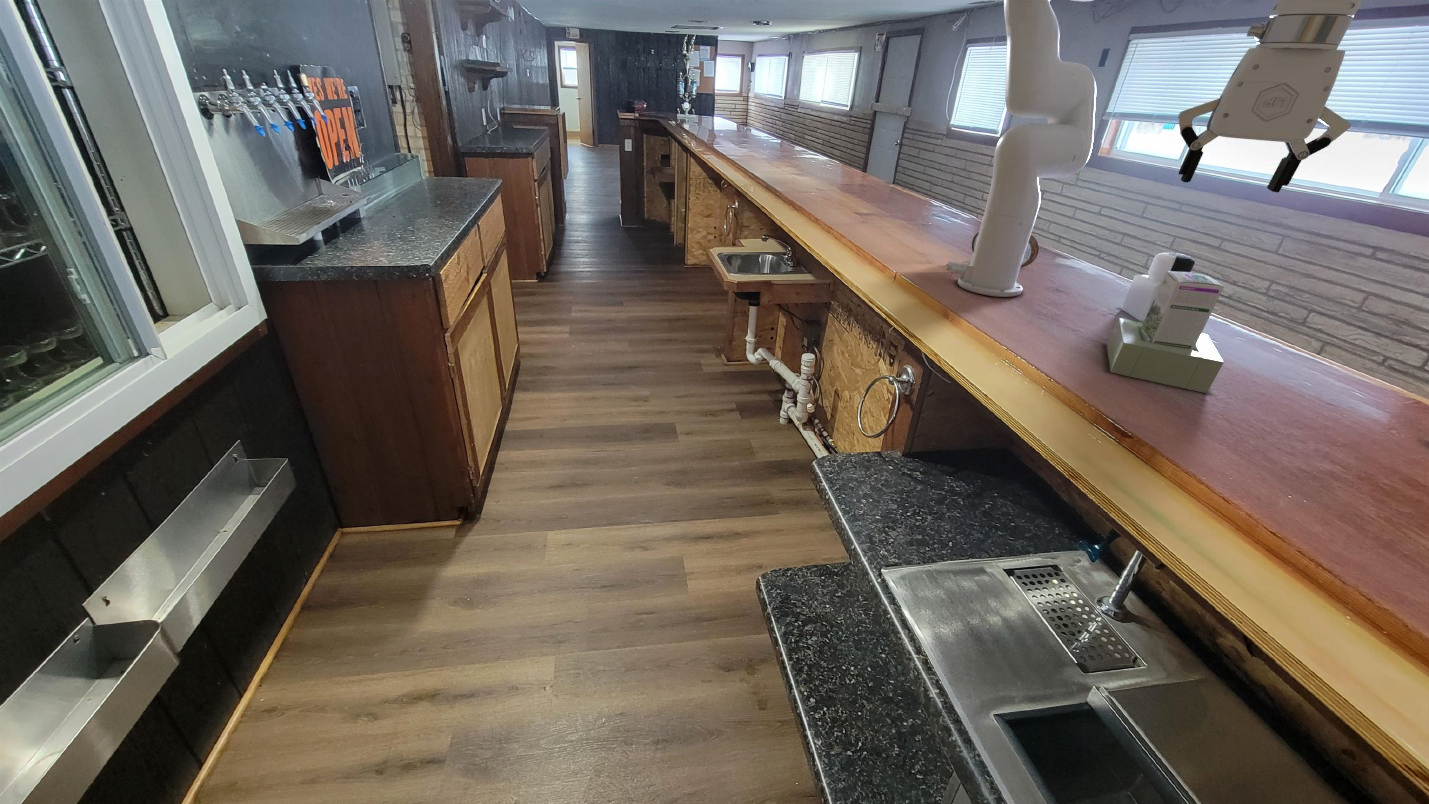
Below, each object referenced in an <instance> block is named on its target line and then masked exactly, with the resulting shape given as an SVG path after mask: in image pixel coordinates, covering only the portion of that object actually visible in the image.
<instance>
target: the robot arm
mask: <svg viewBox="0 0 1429 804" xmlns="http://www.w3.org/2000/svg"><path fill="white" fill-rule="evenodd" d="M1050 1H1051V0H1003V16H1004V23H1005V32H1006V57H1005V58H1006V61H1005V62H1006V63H1005V88H1004V89H1005V92H1004V93H1005V94H1004V95H1005V96H1004V97H1005V108H1006V110H1007V112H1008V113H1009V114H1010V115H1012V116H1014V117H1017V118H1023V119H1024V118H1025V119H1042V120H1043V119H1044V120H1047V123H1046V122H1045V123H1041V122H1029V123H1021V124H1017V125H1015V126H1013V127H1010V128H1008V129H1007V131H1005V132H1004V133H1003V134H1002V135H1001V137H1000V138H999V139H998V142H997V143H996V145H995V149H994V154H993V165H992V176H991V177H992V178H991V182H990V189H989V193H988V196H987V201H986V204H985V208H984V211H983V212H984V213H983V215H982V220H981V223H980V227H979V231H978V232H979V234H978V238H977V242H976V245H975V249H974V253H973V252H972V257H971V259H970V260H969V261H968V262H964V263H958V262H955V261H951V260H950V261H948V263H947V266H946V271H949V272H950V273H952V274H958V275H959V277H958V279H957V285H959V287H961V288H962V289H965V290H966V291H969V292H972V293H975V294H978V295H984V296H990V297H1000V298H1009V297H1010V298H1011V297H1012V298H1013V297H1015V296H1019V295H1020V294H1021V293H1022V291H1023V287H1022V284H1020V283H1018V282H1017V280H1018V277H1019V273H1020V270H1021V268H1020V267H1021V264H1022V261H1023V258H1024V254H1025V251H1026V248H1027V245H1028V242H1029V239H1030V235H1032V232H1033V229H1034V226H1035V224H1036V223H1035V222H1036V219H1037V215H1038V212H1039V211H1040V210H1039V209H1040V206H1041V190H1040V185H1039V184H1040V183H1039V179H1064V178H1069V177H1072V176H1074V175H1076V174H1077V173H1079V172H1080V171H1081V170H1082V169H1084V167H1085V166H1086V164H1087V163H1088V161H1089V159H1090V156H1091V153H1092V149H1093V143H1094V130H1095V117H1096V116H1095V113H1096V101H1097V100H1096V97H1097V83H1096V79H1095V76H1094V73H1093V72H1092V70H1091V69H1090V68H1089V67H1088V66H1087V65H1085V64H1083V63H1079V62H1075V61H1063V60H1062V59H1061V56H1060V38H1061V37H1060V36H1061V32H1060V25H1059V21H1058V19H1057V15H1056V13H1055V11H1054V10H1053V8H1052V5H1051V3H1050ZM1071 1H1072V2H1073V1H1074V2H1080V3H1081V2H1083V3H1085V2H1093V0H1071ZM1362 3H1363V0H1276V3H1275V5H1274V6H1273V7H1274V8H1273V9H1272V10H1271V11H1272V12H1271V13H1270V16H1269V18H1267V19H1266V20H1264V21H1263V22H1260V23H1252V24H1251V25H1250V27H1249V28H1248V31H1247V33H1246V37H1251V38H1253V39H1255V40H1256V46H1255V47H1250V48H1248V49H1247V51H1246V52H1245V53H1244V55H1243V56H1242V58H1241V60H1240V61H1239V62H1238V64H1237V66H1236V68H1235V69H1234V70H1233V72H1232V73H1231V76H1230V77H1229V80H1228V81H1227V83H1226V85H1225V86H1224V89H1223V90H1222V93H1221V94H1220V96H1219V97H1218V98H1216V99H1213V100H1210V101H1208V102H1204V103H1201V104H1199V105H1196V106H1193V107H1189V108H1187V109H1184V110H1182V111H1180V112H1179V113H1178V115H1177V118H1178V126H1179V135H1180V136H1181V137H1182V140H1183V141H1184V143H1185V144H1186V146H1187V148H1188V149H1187V152H1186V154H1185V157H1184V159H1183V161H1182V163H1181V166H1180V168H1179V171H1178V175H1179V176H1181V177H1180V181H1181V182H1182V183H1190V182H1191V181H1192V179H1193V177H1194V174H1195V172H1196V171H1197V168H1198V166H1199V164H1200V162H1201V159H1202V157H1203V155H1204V151H1203V148H1204V146H1206V145H1208V144H1209V143H1210V142H1212V141H1214V140H1215V139H1217V138H1218V137H1222V138H1228V139H1229V138H1230V139H1242V140H1253V141H1254V140H1255V141H1266V142H1268V141H1269V142H1280V143H1284V144H1285V146H1286V149H1287V151H1288V153H1287V155H1286V156H1283V157H1282V158H1281V160H1280V162H1279V163H1278V166H1277V167H1276V169H1275V171H1274V173H1273V175H1272V176H1271V179H1270V181H1269V182H1268V184H1267V187H1266V189H1267V190H1268V191H1271V192H1272V193H1279V192H1281V190H1282V188H1283V187H1284V186H1285V187H1287V186H1288V185H1289V184H1290V182H1291V181H1292V179H1293V177H1294V175H1295V173H1296V172H1297V170H1298V169H1299V166H1300V164H1301V162H1302V161H1304V160H1306V159H1308V158H1309V156H1312V155H1314V154H1316V153H1317V152H1319V151H1321V150H1323V149H1325V148H1327V147H1329V146H1330V145H1331V143H1333V142H1334V141H1335V140H1337V139H1338V138H1339V137H1340V136H1342V135H1343V134H1344V133H1345V132H1346V131H1348V130H1349V129H1350V128H1351V125H1352V123H1351V122H1349V121H1348V120H1346V119H1345V118H1344V117H1342V116H1341V115H1339V114H1338V113H1336V112H1335V111H1333V110H1331V108H1328V107H1327V106H1326V104H1327V102H1328V100H1329V98H1330V95H1331V93H1332V91H1333V88H1334V86H1335V83H1336V81H1337V79H1338V75H1339V73H1340V70H1341V67H1342V64H1343V61H1344V58H1345V55H1346V50H1345V49H1339V46H1340V44H1341V42H1342V41H1343V38H1344V36H1345V34H1346V33H1347V31H1348V29H1349V27H1350V25H1351V24H1352V21H1353V20H1354V17H1355V15H1356V14H1357V12H1358V10H1359V8H1360V6H1361V4H1362ZM1209 113H1211V114H1210V116H1209V118H1208V121H1207V123H1206V129H1205V130H1203V131H1202V132H1201V133H1199V134H1198V135H1197V133H1196V131H1195V129H1194V128H1193V120H1194V119H1195V118H1198V117H1200V116H1203V115H1206V114H1209ZM1318 122H1321V123H1322V124H1324V125H1325V126H1326V127H1327V129H1326V130H1325V131H1324V132H1323V133H1322V134H1321V135H1320V136H1318V137H1316V138H1315V139H1313V140H1311V141H1308V142H1307V143H1306V140H1305V139H1307V138H1308V137H1309V136H1310V135H1311V134H1312V132H1313V131H1314V129H1315V127H1316V125H1317V124H1318Z"/></svg>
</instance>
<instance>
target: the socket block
mask: <svg viewBox="0 0 1429 804" xmlns="http://www.w3.org/2000/svg"><path fill="white" fill-rule="evenodd" d="M1143 323H1144V322H1141V321H1136V320H1131V319H1127V318H1120V317H1119V318H1117V321H1116V323H1115V325H1114V328H1113V330H1112V332H1111V334H1110V337H1109V339H1108V342H1107V344H1106V350H1107V356H1108V362H1109V363H1108V364H1109V370H1110V373H1112V374H1117V375H1121V376H1126V377H1130V378H1135V379H1137V380H1138V379H1139V380H1144V381H1148V382H1153V383H1157V384H1161V385H1166V386H1171V387H1176V388H1181V389H1185V390H1188V391H1189V390H1190V391H1194V392H1198V393H1204V394H1208V392H1209V390H1210V388H1211V387H1212V385H1213V384H1214V382H1215V380H1216V377H1217V376H1218V374H1219V372H1220V370H1221V368H1222V366H1224V363H1225V362H1224V360H1223V358H1222V357H1221V355H1220V353H1219V351H1218V350H1217V348H1216V347H1215V345H1214V343H1213V340H1212V339H1211V337H1210V335H1209V334H1207V333H1203V332H1202V333H1201V335H1200V337H1199V339H1198V341H1197V343H1196V346H1195V347H1194V349H1193V351H1191V350H1186V349H1181V348H1176V347H1171V346H1166V345H1161V344H1155V343H1150V342H1145V341H1142V340H1141V337H1140V333H1139V332H1140V330H1141V328H1142V325H1143Z"/></svg>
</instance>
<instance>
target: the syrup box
mask: <svg viewBox="0 0 1429 804" xmlns="http://www.w3.org/2000/svg"><path fill="white" fill-rule="evenodd" d="M1223 290H1224V285H1223V284H1222V283H1220V282H1218V280H1215V279H1214V278H1212V277H1211V276H1209V275H1208V274H1207V275H1206V274H1202V273H1196V272H1175V271H1166V273H1165V275H1164V277H1163V280H1162V282H1161V284H1160V286H1159V289H1158V291H1157V293H1156V296H1155V298H1154V300H1153V302H1152V305H1151V307H1150V309H1149V312H1148V314H1147V316H1146V318H1145V321H1144V322H1142V323H1143V325H1142V328H1141V330H1140V332H1139V333H1140V337H1141V340H1142V341H1145V342H1150V343H1155V344H1161V345H1166V346H1171V347H1176V348H1181V349H1186V350H1191V351H1193V349H1194V347H1195V346H1196V343H1197V341H1198V339H1199V337H1200V335H1201V333H1202V334H1203V331H1204V329H1205V327H1206V325H1207V323H1208V321H1209V319H1210V317H1211V314H1212V312H1213V310H1214V308H1215V306H1216V305H1217V303H1218V300H1219V298H1220V296H1221V294H1222V292H1223Z"/></svg>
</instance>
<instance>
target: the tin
mask: <svg viewBox="0 0 1429 804" xmlns="http://www.w3.org/2000/svg"><path fill="white" fill-rule="evenodd" d="M978 234H979V231H978V232H976V233H975V235H974V236H973V237H972V241H971V251H972V254H973V253H974V249H975V245H976V242H977V238H978ZM1039 250H1040V247H1039V242H1038V240H1037V238H1036V237H1035V236H1034V235H1033V234H1031V235H1030V239H1029V242H1028V245H1027V248H1026V251H1025V254H1024V258H1023V261H1022V264H1021V267H1020V269H1022V268H1026V267H1027V266H1030V265H1031V264H1032V263H1033V262H1034V261H1035V260H1036V259H1037V257H1038V255H1039Z"/></svg>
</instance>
